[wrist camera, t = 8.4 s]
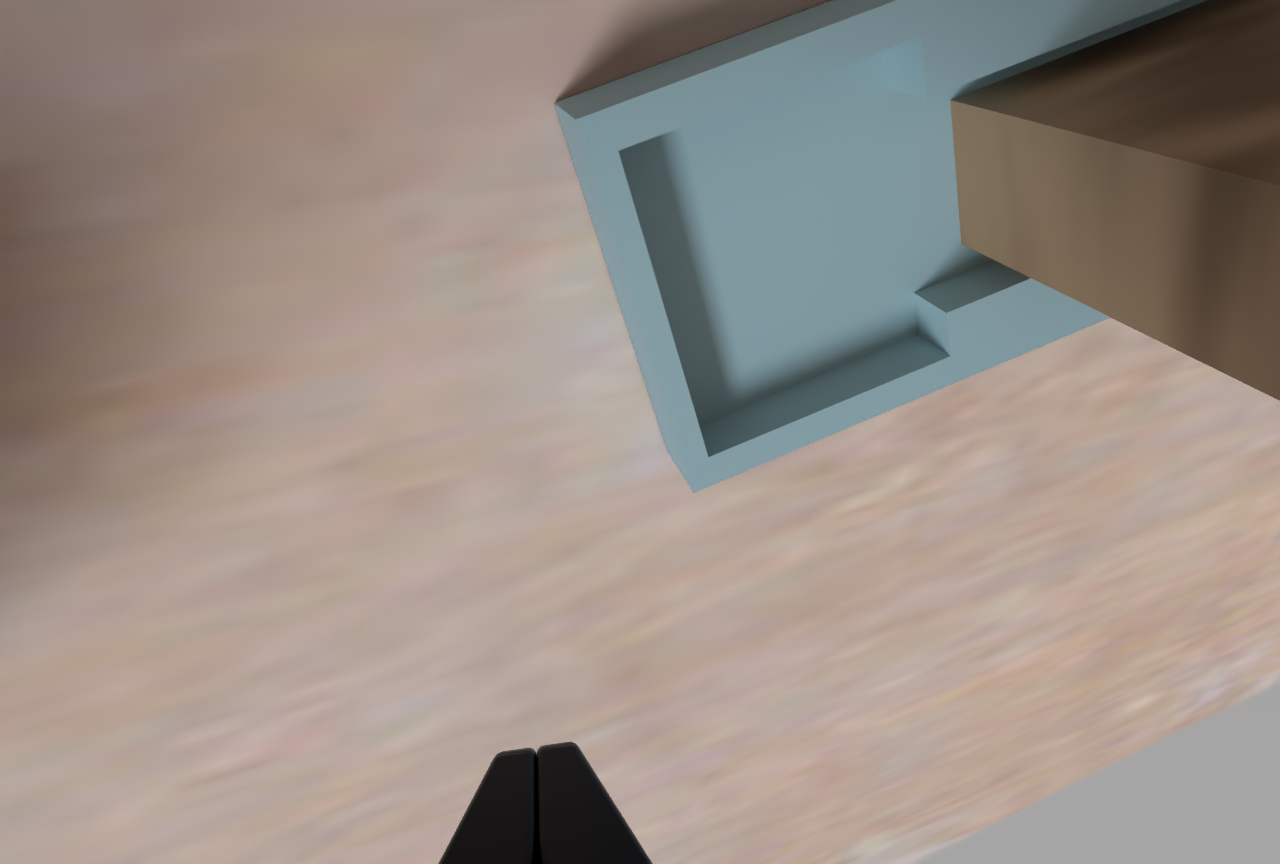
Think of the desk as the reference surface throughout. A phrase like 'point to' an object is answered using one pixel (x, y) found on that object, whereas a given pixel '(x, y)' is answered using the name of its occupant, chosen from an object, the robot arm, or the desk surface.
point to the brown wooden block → (1143, 181)
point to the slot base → (815, 217)
